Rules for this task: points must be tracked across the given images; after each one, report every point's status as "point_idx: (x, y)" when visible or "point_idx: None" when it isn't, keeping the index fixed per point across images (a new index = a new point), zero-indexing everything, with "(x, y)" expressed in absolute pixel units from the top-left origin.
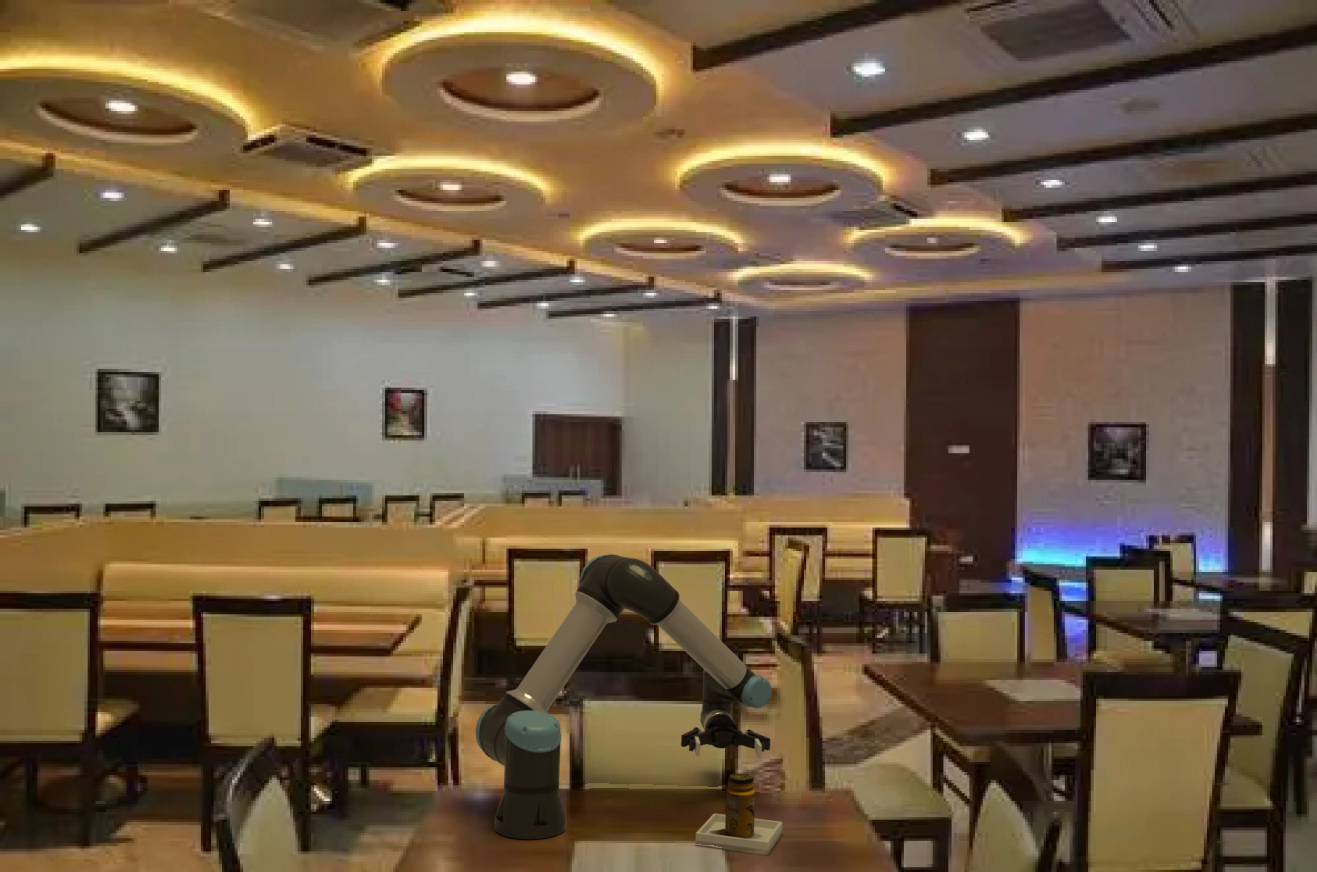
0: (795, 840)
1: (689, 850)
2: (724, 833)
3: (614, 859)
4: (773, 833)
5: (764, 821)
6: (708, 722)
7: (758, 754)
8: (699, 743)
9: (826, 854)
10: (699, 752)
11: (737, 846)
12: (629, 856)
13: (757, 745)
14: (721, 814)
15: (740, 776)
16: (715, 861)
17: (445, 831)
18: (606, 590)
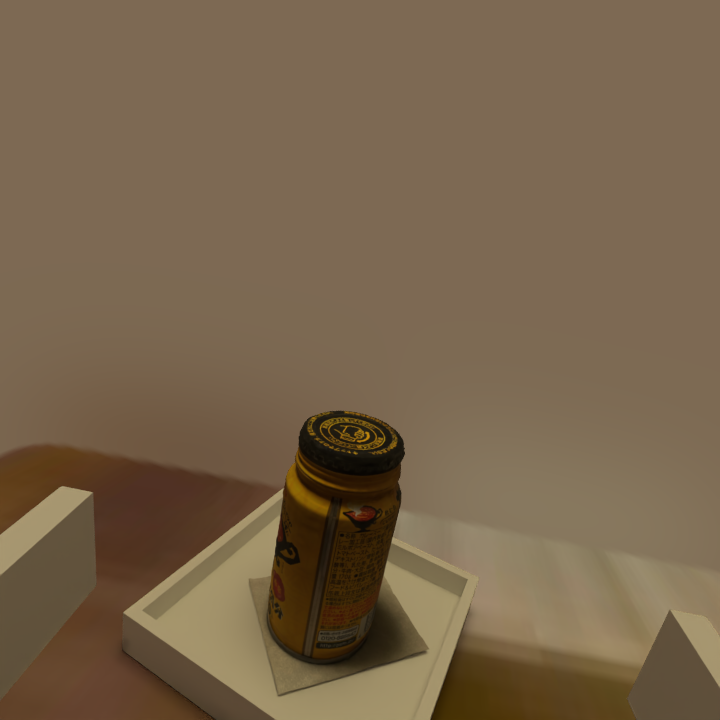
0: (125, 583)
1: (484, 580)
2: (372, 630)
3: (658, 569)
4: (234, 528)
5: (188, 644)
6: None
7: (93, 559)
8: (678, 612)
9: (125, 488)
10: (642, 677)
11: None
12: (631, 577)
13: (33, 564)
14: None
15: (353, 439)
16: (418, 514)
17: None
18: None
